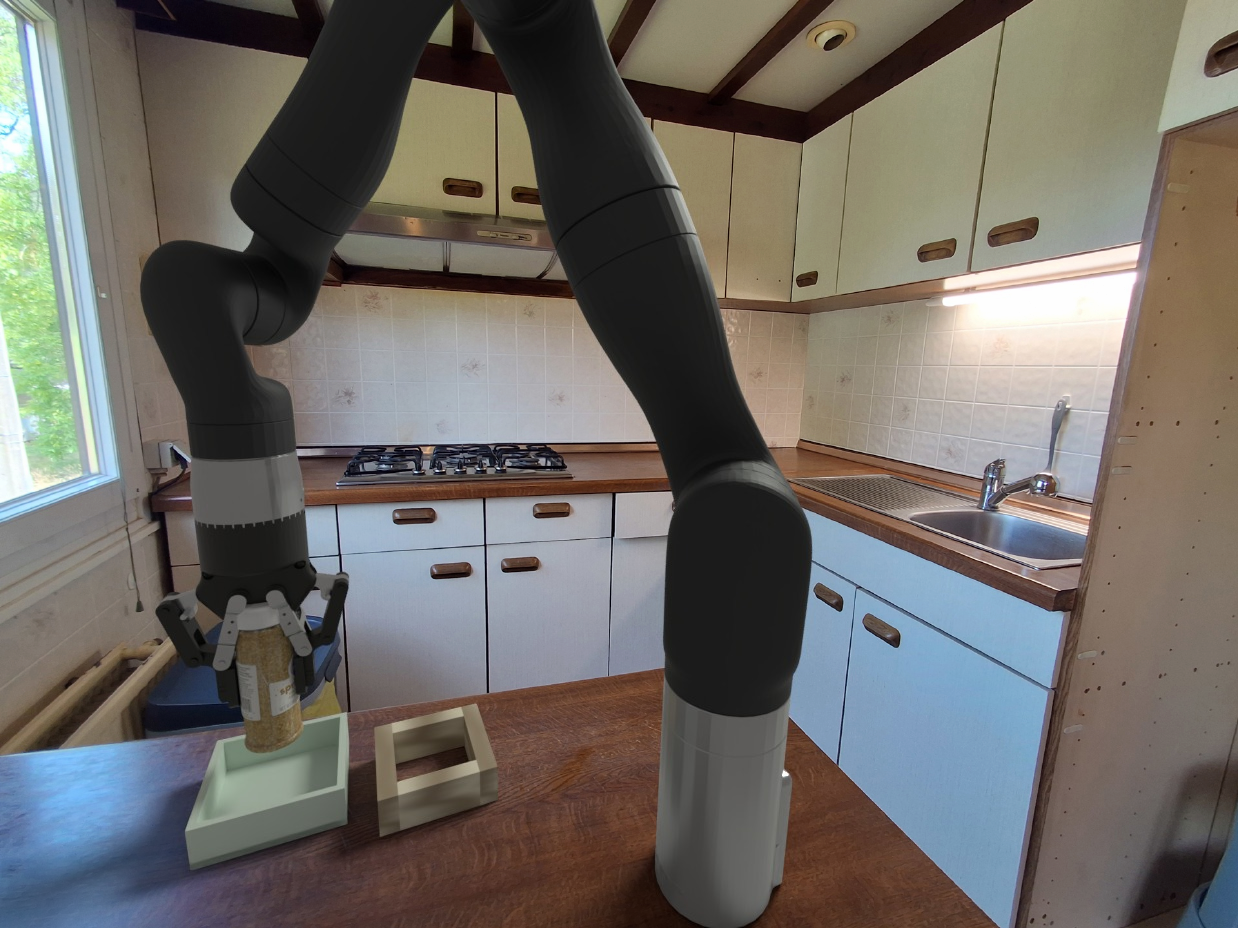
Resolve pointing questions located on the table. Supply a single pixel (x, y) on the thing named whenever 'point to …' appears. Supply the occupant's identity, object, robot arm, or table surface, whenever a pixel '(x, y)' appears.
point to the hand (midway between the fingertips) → (270, 694)
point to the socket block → (440, 788)
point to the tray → (270, 793)
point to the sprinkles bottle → (266, 680)
